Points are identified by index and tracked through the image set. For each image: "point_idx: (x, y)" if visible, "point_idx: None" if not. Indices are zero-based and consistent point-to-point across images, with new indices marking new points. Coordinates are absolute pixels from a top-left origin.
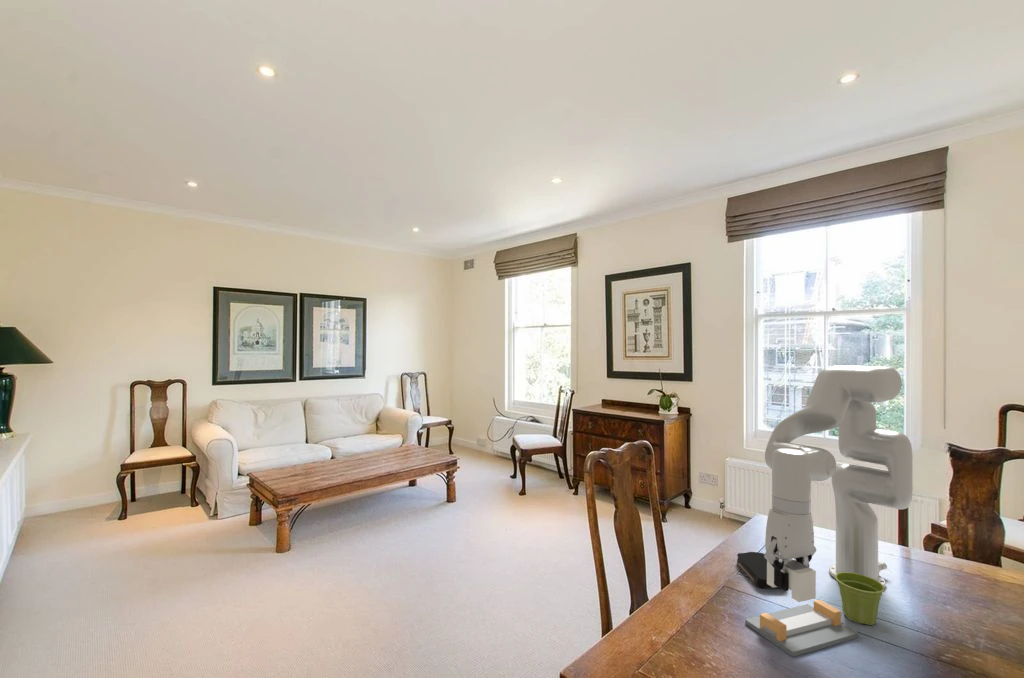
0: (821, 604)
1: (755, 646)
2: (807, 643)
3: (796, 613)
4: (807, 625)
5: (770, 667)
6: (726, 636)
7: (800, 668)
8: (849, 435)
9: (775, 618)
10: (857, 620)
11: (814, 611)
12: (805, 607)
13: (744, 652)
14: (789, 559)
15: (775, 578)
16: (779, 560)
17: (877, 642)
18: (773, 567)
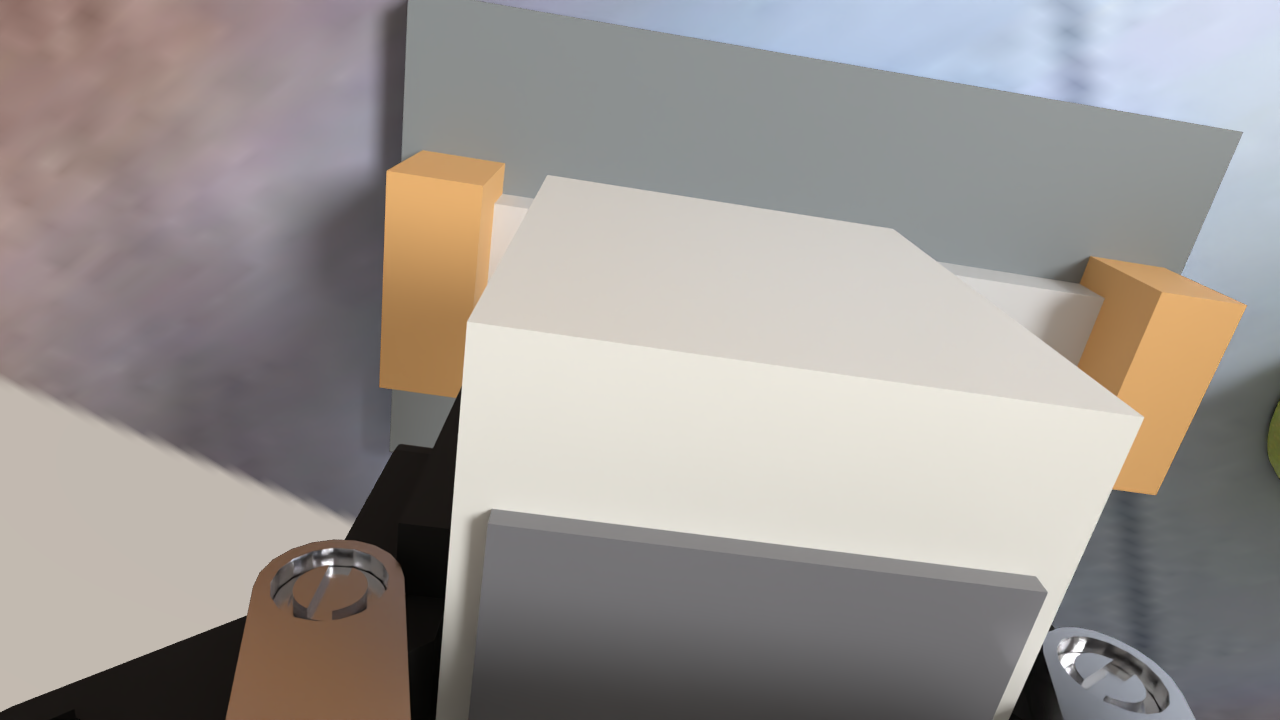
0: (1145, 362)
1: (235, 243)
2: None
3: (961, 178)
4: None
5: (154, 424)
6: (87, 37)
7: (343, 510)
8: None
9: (472, 292)
10: (1276, 455)
11: (1063, 299)
12: (1152, 159)
13: (89, 248)
14: (906, 690)
15: (384, 482)
16: (588, 621)
17: (1086, 593)
18: (288, 583)
